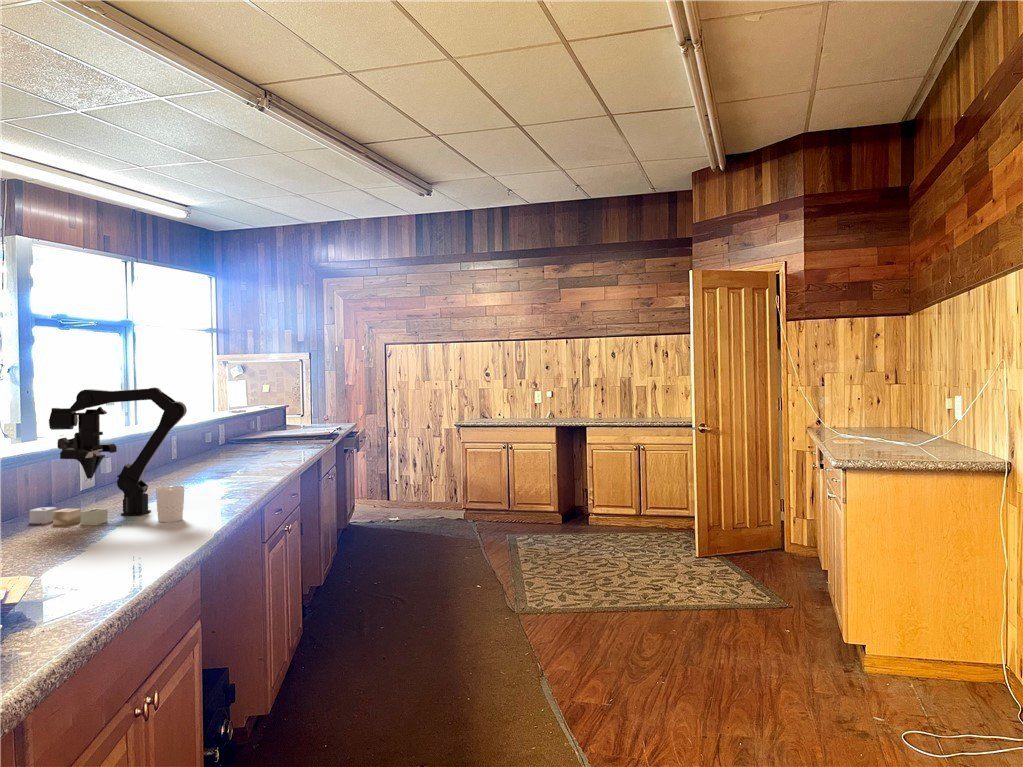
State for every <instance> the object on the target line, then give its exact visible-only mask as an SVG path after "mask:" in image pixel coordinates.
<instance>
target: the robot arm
mask: <svg viewBox="0 0 1023 767" xmlns="http://www.w3.org/2000/svg"><path fill="white" fill-rule="evenodd" d="M75 399H76V400H75V402H73V404H72V405H71V407H69V408H67V407H66V408H64V407H63V408H61V407H52V408H51V412H50V415H49V419H48V426H49V429H50V430H51V431H54V430H55V431H57V430H61V431H62V430H64V431H65V430H73V429H74V428H75V427H77V426H78V432H75V433H74V437H72V438H69V439H68V437H61V438H58V439H57V443H56V445H57V449H59V450H61V451H60V452H59V459H60V460H76V461H77V462H79V463H80V465H81V467H82V469H83V471H84V474H85V476H86V478H87V479H88V480H89V479H93V477H94V475H95V473H96V472H97V469H98V467H99V466H100V464H101V462H102V461H103V460H104V458H105V457H106V455H104V454H102V453H109V454H113V453H117V449H118V448H117V445H116V444H115V443H104V442H103V443H101V438H100V437H101V436H102V435H104V431H101V430H100V429H101V427H100V426H101V425H100V424H101V422H100V416H101V415H106V414H107V413H108V412H107V411H106V410H104V409H103V408H102V405H103V406H104V405H106V404H110V403H123V402H134V401H148V400H149V401H152V402H153V403H154V404H155V405H156V406H158V407H159V408H160V410H162V411H163V412H162V415H161V417H160V420H159V421H160V422H159V423H158V426H156V429H155V430H154V432H153V434H152V435H151V436H150V438H149V439H148V441H147V442H146V444H145V445H144V447H143V448H142V450H141V452H140V453H139V454H138V456H137V457H136V459H135V460H134V462H133V463H131V464H130V463H129V462H128V463H127V464H125V465H124V466H123V467H122V470H121V472H120V473H119V474H118V475H117V476H116V477H117V481H116V484H117V488H118V489H119V490H120V491H122V493H123V499H122V512H121V513H120V516H142V515H145V514H148V513H151V512H152V510H151V509H149V493H146V492H147V491H148V488H149V485H148V484H147V483H145V482H144V481H143V480H142V479H143V477H144V474H145V472H146V469H147V466H148V465H149V463H150V462H151V460H152V458H153V457H154V455H155V454H156V453H157V452H158V449H159V448H160V447H161V445H162V443H163V442H164V441H165V439H166V438H167V436H168V434H169V433H170V431H171V430H173V428H174V427H175V426H176V425H177V424H178V423H179V422H180V421H181V420H182V419H183V417H185V416H186V414H187V406H186V405H185V403H183V402H181V401H178V400H177V401H176V400H174V398H172V397H170V396H169V395H168V394H166V393H165V392H163V391H162V390H161V389H160V388H159V387H150V388H139V389H135V388H134V389H125V390H107V389H105V390H103V389H95V388H89V389H82V390H80V391H79V392H78V393H77V395H76V398H75ZM97 406H98V407H97ZM93 407H97V409H96V408H94V409H93ZM88 408H89V409H88ZM90 408H92V409H90ZM85 409H86V410H85ZM83 410H85V411H84V412H80V411H83Z"/></svg>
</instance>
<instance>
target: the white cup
mask: <svg viewBox="0 0 1023 767" xmlns="http://www.w3.org/2000/svg"><path fill="white" fill-rule="evenodd" d="M155 492H156V493H155V496H156V510H157V521H158V522H160V523H174V522H180V521H182V520H183V515H184V514H183V513H184V512H183V511H184V502H185V486H182V485H168V486H166V485H164V486H159V487H157V488H156V489H155Z"/></svg>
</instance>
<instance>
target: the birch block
mask: <svg viewBox="0 0 1023 767" xmlns="http://www.w3.org/2000/svg"><path fill="white" fill-rule="evenodd" d="M81 512H82V509H81V508H67V507H66V508H62V509H57V511H54V512H53V522H52V525H53V526H55V525H56V526H58V525H59V526H70V525H74V524H78V523H81Z"/></svg>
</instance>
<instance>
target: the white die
mask: <svg viewBox="0 0 1023 767" xmlns="http://www.w3.org/2000/svg"><path fill="white" fill-rule="evenodd" d="M57 510H58V507H56V506H55V507H54V506H53V507H52V506H51V507H49V506H47V507H46V506H42V507H41V506H40V507H37V508H33V509H29V524H40V523H41V524H42V525H43V524H44V525H45V524H49V523H51V522H52V521H53V512H54V511H57ZM52 523H53V522H52Z"/></svg>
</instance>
